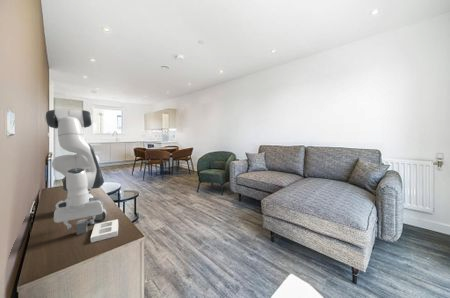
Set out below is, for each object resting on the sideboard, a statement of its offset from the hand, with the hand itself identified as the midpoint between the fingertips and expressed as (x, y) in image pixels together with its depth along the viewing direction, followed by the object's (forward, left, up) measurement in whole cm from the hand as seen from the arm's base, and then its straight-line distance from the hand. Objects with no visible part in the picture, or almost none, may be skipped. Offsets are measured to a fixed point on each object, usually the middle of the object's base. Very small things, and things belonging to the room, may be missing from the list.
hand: (81, 226), depth 97 cm
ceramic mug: (-12, +5, -4) cm, 13 cm away
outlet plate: (+6, +11, -4) cm, 13 cm away
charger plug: (-1, 0, -4) cm, 4 cm away
